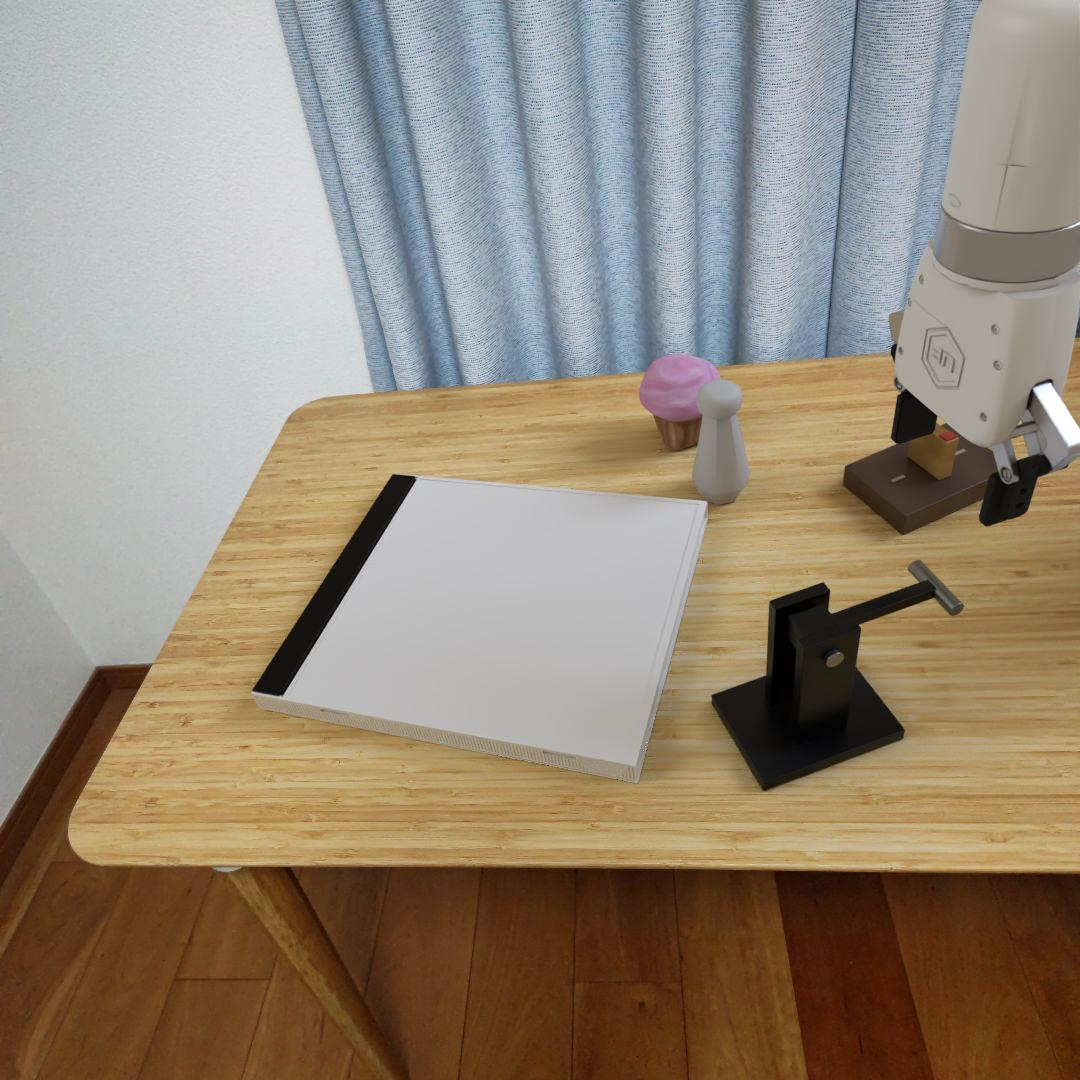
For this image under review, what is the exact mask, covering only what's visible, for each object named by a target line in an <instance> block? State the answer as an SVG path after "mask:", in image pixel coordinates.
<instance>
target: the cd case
mask: <svg viewBox="0 0 1080 1080" xmlns="http://www.w3.org/2000/svg"><path fill="white" fill-rule="evenodd" d="M376 497H377V498H376V499H375V500H374V502H373V504H372V505H371V506H370V508H369V510H368V511H367V512H366V514H365V516H364V517H363V519H362V520H361V522H360V523H359V525H358V527H357V528H356V530H355V531H354V532H353V534H352V535H351V537H350V539H349V540H348V541H347V544H346V545H345V546H344V547H343V550H342V551H341V553H340V554H339V556H338V557H337V559H336V560H335V562H334V563H333V565H332V567H331V568H330V569H329V571H328V573H327V574H326V576H325V577H324V578H323V580H322V581H321V583H320V585H319V586H318V588H317V590H316V591H315V592H314V594H313V596H312V597H311V598H310V600H309V602H308V603H307V605H306V607H305V608H304V610H303V611H302V612H301V614H300V616H299V617H298V619H297V620H296V622H295V623H294V624H293V626H292V628H291V630H290V631H289V632H288V634H287V636H286V637H285V639H284V640H283V641H282V643H281V645H280V646H279V648H278V649H277V651H276V652H275V654H274V655H273V657H272V658H271V660H270V661H269V662H268V664H267V666H266V668H265V669H264V671H263V672H262V674H261V675H260V677H259V678H258V680H257V682H256V683H255V684H254V686H253V688H252V690H251V693H250V694H251V696H252V698H253V700H254V702H255V703H256V704H257V706H258V707H259V708H260V709H261V710H265V711H270V712H276V713H281V714H285V715H289V716H294V717H300V718H305V719H309V720H315V721H320V722H325V723H331V724H334V725H335V724H336V725H341V726H345V727H351V728H355V729H360V730H366V731H370V732H375V733H380V734H385V735H390V736H395V737H401V738H406V739H411V740H416V741H421V742H426V743H431V744H436V745H441V746H446V747H451V748H455V749H461V750H466V751H473V752H476V753H482V754H487V755H491V754H492V756H497V755H498V756H497V757H501V756H502V757H501V758H506V757H507V759H512V760H516V759H517V761H521V760H524V761H523V762H526V761H528V763H531V762H535V763H534V764H536V763H539V764H538V765H541V764H546V765H545V766H547V765H549V766H548V767H552V766H553V768H557V767H558V769H562V768H563V769H562V770H567V769H568V771H573V772H577V773H583V774H587V773H588V774H587V775H593V776H597V777H602V778H608V779H612V780H617V779H618V781H622V780H623V781H622V782H627V783H632V784H637V783H638V784H639V781H640V778H641V774H642V770H643V766H644V763H645V759H644V758H646V755H647V751H648V748H649V744H648V743H646V742H649V743H650V740H649V738H650V739H651V737H652V736H651V735H652V732H653V729H654V725H655V721H654V720H656V717H657V714H656V712H657V713H658V711H659V710H658V709H659V706H660V702H661V698H662V695H661V694H663V691H664V687H665V683H666V679H667V676H668V672H669V667H670V664H671V661H672V656H673V653H674V648H675V645H676V641H677V638H678V634H679V630H680V627H681V623H682V619H683V615H684V611H685V607H686V604H687V601H688V600H687V599H688V596H689V592H690V588H691V585H692V580H693V577H694V573H695V570H696V566H697V562H698V558H699V554H700V551H701V547H702V543H703V540H704V535H705V532H706V528H707V524H708V521H709V516H708V515H709V514H708V513H709V511H708V501H707V500H699V499H687V498H686V499H685V498H676V497H675V498H673V497H665V496H664V497H663V496H652V495H644V494H643V495H642V494H633V493H632V494H630V493H621V492H610V491H609V492H608V491H597V490H586V489H573V488H563V487H554V486H553V487H552V486H542V485H529V484H518V483H507V482H496V481H485V480H473V479H465V478H453V477H452V478H451V477H450V478H449V477H441V476H440V477H439V476H430V475H417V474H405V473H395V472H394V473H391V476H390V478H389V479H388V480H387V482H386V483H385V485H384V487H383V488H382V490H381V491H380V493H379V494H378V496H376ZM662 690H663V691H662ZM659 701H660V702H659ZM658 705H659V706H658ZM655 716H656V717H655ZM653 724H654V725H653ZM652 728H653V729H652ZM651 731H652V732H651ZM645 746H646V747H645ZM647 747H648V748H647ZM643 750H644V751H643ZM646 750H647V751H646ZM645 754H646V755H645ZM554 766H555V767H554Z"/></svg>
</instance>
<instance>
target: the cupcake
mask: <svg viewBox="0 0 1080 1080" xmlns="http://www.w3.org/2000/svg"><path fill="white" fill-rule="evenodd" d="M717 379H722V378H721V375H720V373H719V371H718V369H717V368H716V366H715V365H714V364H713V363H711V362H710V361H708V360H706V359H705V358H702V357H698V356H695V355H692V354H691V355H690V354H688V353H682V352H681V353H680V352H679V353H671V354H667V355H663V356H661V357H659V358H657V359H655V360H653V361H652V362H651V363H650V365H649V366H648V369H647V370H646V371H645V373H644V375H643V378H642V380H641V382H640V385H639V389H638V398H639V399H638V400H639V401H640V404H641V405H642V407H643V408H644V409H645V410H646V411H647V412H649V413H650V414H652V415H653V419H654V422H655V425H656V428H657V431H658V433H659V435H660V437H661V439H662V440H663V443H664V444H665V446H666V447H667V448H668V449H669V450H672V451H680V450H683V449H686V448H689V447H691V446H694V445H698V441H699V435H700V429H701V423H702V417H703V414H701V413H700V411H699V409H698V407H697V401H696V399H697V394H698V390H699V388H700V387H702V386H703V385H704V384H705V383H707V382H709V381H712V380H717Z"/></svg>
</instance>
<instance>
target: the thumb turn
mask: <svg viewBox="0 0 1080 1080" xmlns="http://www.w3.org/2000/svg"><path fill="white" fill-rule="evenodd" d="M958 440H959V438H958V437H956V435H955V434H953V433H952V432H950V431H947V430H946V429H945V428H943V427H942V426H940V424H939V423H937V422H936V427H935V431H934V432H933V433H932V434H930V435H927V436H923V437H920V438H917V439H914V440H911V441H910V445H909V451H908V457H909V458H910V459H912V460H913V461H914V462H916V463H917V464H918V465H920V466H921V467H922V468H924V469H925V470H926V471H928V472H929V473H930V474H932V475H933V476H934V477H936V478H937V479H938V480H941V479H944V478H946V477H948V476H951V473H952V468H953V463H954V459H955V454H956V449H957V445H958Z"/></svg>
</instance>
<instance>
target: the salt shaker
mask: <svg viewBox="0 0 1080 1080" xmlns="http://www.w3.org/2000/svg"><path fill="white" fill-rule="evenodd" d="M743 400H744V399H743V392H742V389H741V387H740V386H739V385H738V384H736V383H735V382H733V381H731V380H730V379H723V378H721V379H717V380H712V381H709V382H707V383H705V384H704V385H703V386H702V387H700V388H699V390H698V394H697V399H696V401H697V407H698V409H699V411H700V413H701V414H703V417H702V423H701V429H700V435H699V441H698V443H697V447H696V451H695V457H694V461H693V462H694V463H693V466H692V467H693V468H692V472H691V479H692V481H693V484H694V486H695V488H696V490H697V491H698V494H699V495H700V497H701V499H703V500H704V501H707V502H709V503H712V504H713V505H715V506H720V505H724V504H725V505H726V504H729V503H733V502H734V503H735V501H736V500H737V498H738V497H739V495H740V494H741V493H742V491H743V490H744V488H746V486H747V485H748V481H749V478H750V475H751V474H750V473H751V470H750V466H749V461H748V458H747V451H746V448H745V445H744V444H745V443H744V439H743V434H742V430H741V425H740V421H739V417H738V413H739V411H740V410H741V407H742V404H743Z"/></svg>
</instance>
